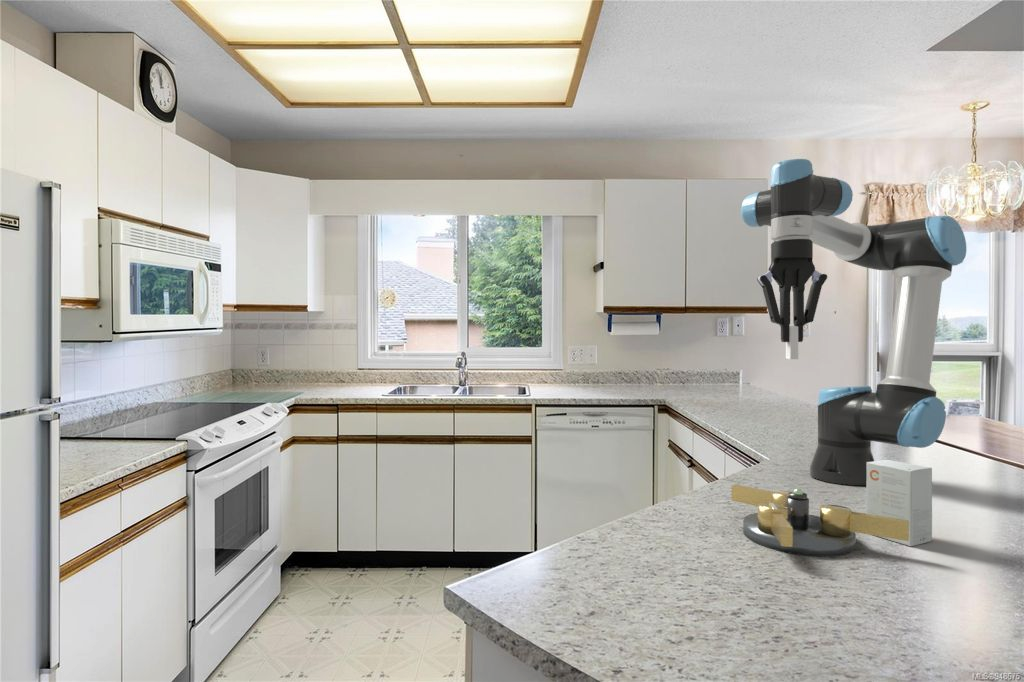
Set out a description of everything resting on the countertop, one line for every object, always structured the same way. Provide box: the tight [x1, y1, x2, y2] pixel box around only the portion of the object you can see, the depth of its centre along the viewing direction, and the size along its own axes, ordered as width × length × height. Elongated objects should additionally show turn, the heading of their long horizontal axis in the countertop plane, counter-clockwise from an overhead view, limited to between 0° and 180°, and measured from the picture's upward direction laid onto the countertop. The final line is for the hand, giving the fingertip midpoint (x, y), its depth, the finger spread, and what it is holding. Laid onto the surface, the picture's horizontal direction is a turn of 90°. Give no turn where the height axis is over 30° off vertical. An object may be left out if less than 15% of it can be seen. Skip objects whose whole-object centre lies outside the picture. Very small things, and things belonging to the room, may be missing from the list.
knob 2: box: [757, 503, 793, 547], centre depth 101 cm, size 13×5×4 cm, turn 168°
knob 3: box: [819, 504, 909, 541], centre depth 101 cm, size 13×5×4 cm, turn 54°
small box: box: [865, 459, 933, 547], centre depth 108 cm, size 8×6×13 cm
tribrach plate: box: [742, 488, 857, 557], centre depth 107 cm, size 18×18×9 cm
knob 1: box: [731, 483, 791, 507], centre depth 116 cm, size 13×5×4 cm, turn 40°
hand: (791, 358), depth 120 cm, fingers closed
